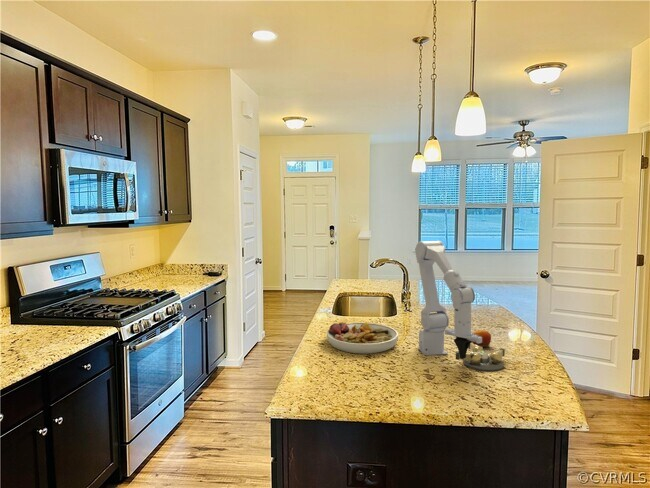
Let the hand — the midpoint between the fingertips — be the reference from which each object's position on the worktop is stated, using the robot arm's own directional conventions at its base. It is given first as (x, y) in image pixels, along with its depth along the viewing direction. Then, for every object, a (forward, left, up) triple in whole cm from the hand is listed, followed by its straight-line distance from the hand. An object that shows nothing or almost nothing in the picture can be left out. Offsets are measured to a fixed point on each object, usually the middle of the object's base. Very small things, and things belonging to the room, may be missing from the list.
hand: (462, 358), depth 148 cm
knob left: (+2, +1, -2) cm, 3 cm away
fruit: (+16, +20, -3) cm, 26 cm away
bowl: (-31, +30, -4) cm, 43 cm away
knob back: (+8, +9, -2) cm, 12 cm away
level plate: (+8, +2, -3) cm, 9 cm away
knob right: (+14, +1, -2) cm, 14 cm away
